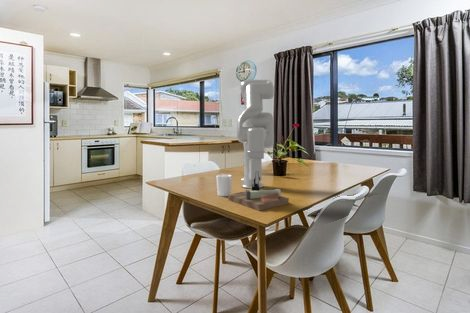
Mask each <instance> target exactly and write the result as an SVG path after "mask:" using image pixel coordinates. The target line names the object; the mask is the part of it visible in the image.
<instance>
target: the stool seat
mask: <svg viewBox="0 0 470 313" xmlns="http://www.w3.org/2000/svg"><path fill="white" fill-rule="evenodd" d="M250 191H252V189H250ZM289 199H290V198H289V197H286V196H283V195H280V197H279V193H272V194H267V195H262V196H261V198H253V199H247V198H246V190H245V191H241V192H235V193H231V194H229V195H228V196H227V200H228V201H230V202H233V203H235V204H239V205H242V206H245V207H247V208H250V209H253V210H254V211H255V210H256V211H262V210H268V209H271V208H276V207H280V206H285V205H288V204H290V203H289V201H290V200H289Z"/></svg>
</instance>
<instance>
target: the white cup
mask: <svg viewBox="0 0 470 313" xmlns="http://www.w3.org/2000/svg"><path fill="white" fill-rule="evenodd" d="M215 177H216V190H217V196H219V197H228V195H229V194H232V193H231V192H232V183H233V182H232V180H233V178H232V177H233V175H232V174H225V173H222V174H217V175H216V176H215Z"/></svg>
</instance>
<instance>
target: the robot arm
mask: <svg viewBox="0 0 470 313" xmlns="http://www.w3.org/2000/svg"><path fill="white" fill-rule="evenodd" d="M239 86H240V88H239V89H240V95H241V97H242V99H243V100H242V101H243V102H244V110H243V111H242V112H241V113H240V115H239V116H238V119H237V120H236V121H237V122H236V139H237V141H238V142H239V143H241V144H243V159H244V161H243V165H244V166H243V169H244V170H243V172H244V173H243V175H244V177H243V178H240V179H241V181H242V183H241V187H242V188H243V189H250V190H252V191H257V190H260V189H261V188H263V187H264V184H263V183H262V182H261V181H262V176H263V175H262V174H263V173H262V171H263V170H262V169H263V168H262V167H263V166H262V161H263V160H264V159H265V149H271V148H273V146H274V144H275V142H274V141H275V140H274V139H275V133H274V117H273V114H272V113H270V112H266V111H264V112H263V109H264V105H263V103H264V102H263V100H271V99H273V98H274V94H275V87H274V84H273V82H272V81H271V80H270V79H246V80H243V81H241V83H240V85H239ZM244 125H245V126H244Z"/></svg>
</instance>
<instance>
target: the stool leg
mask: <svg viewBox="0 0 470 313" xmlns="http://www.w3.org/2000/svg"><path fill="white" fill-rule="evenodd" d="M245 191H246V198H247V199H253V198H261V196H262V195H267V194H272V193H279V197H280V196H282V195H281V191H282V190H281V188H277V189H276V188H275V189H263V190H261V189H259V190H257V191H251V190H247V189H246V190H245Z"/></svg>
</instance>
